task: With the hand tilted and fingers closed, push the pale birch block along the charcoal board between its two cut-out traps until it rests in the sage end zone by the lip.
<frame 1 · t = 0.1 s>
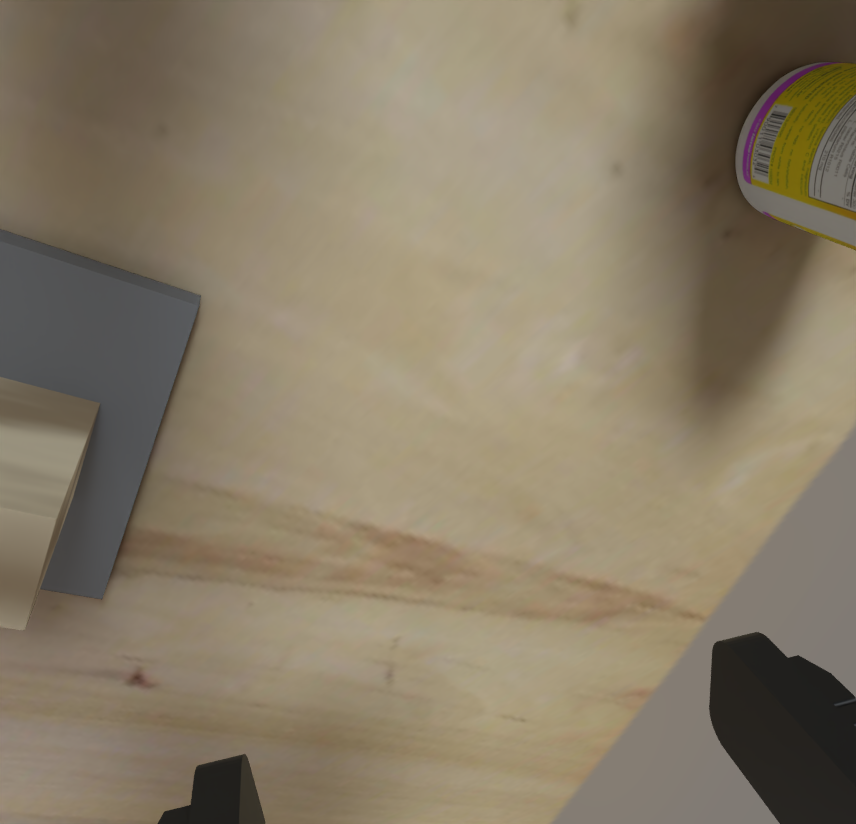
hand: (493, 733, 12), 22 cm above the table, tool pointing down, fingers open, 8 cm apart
supplement bottle: (793, 140, 33), on the table
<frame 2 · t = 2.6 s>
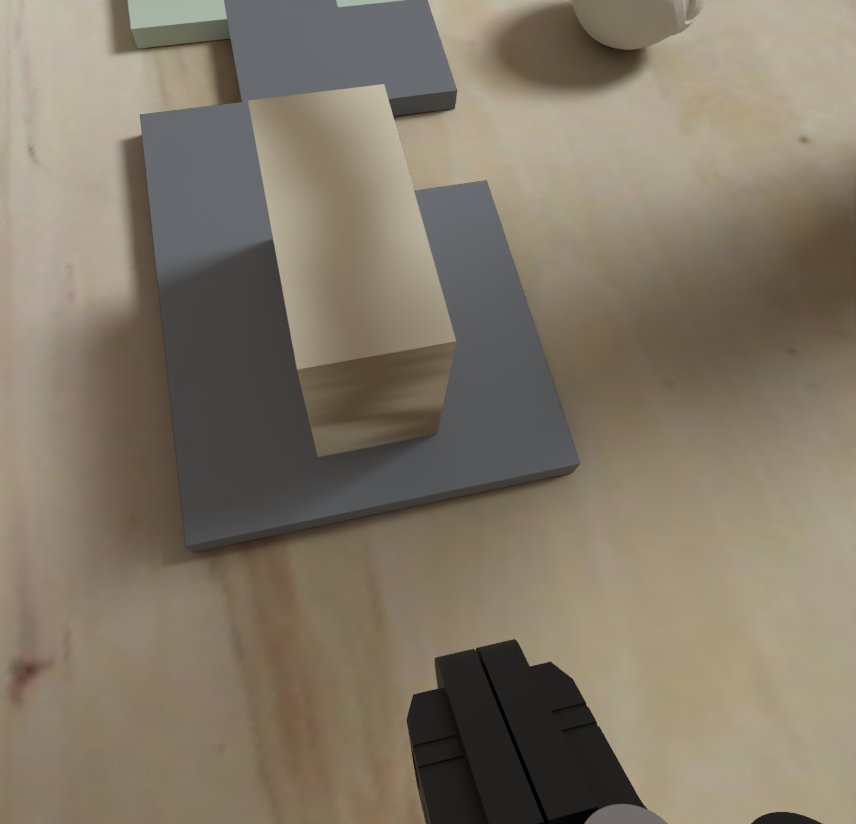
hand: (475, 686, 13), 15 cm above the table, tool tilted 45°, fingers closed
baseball: (620, 37, 42), on the table
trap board: (311, 149, 37), on the table
birch block: (352, 330, 31), point 1 cm above the table, touching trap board
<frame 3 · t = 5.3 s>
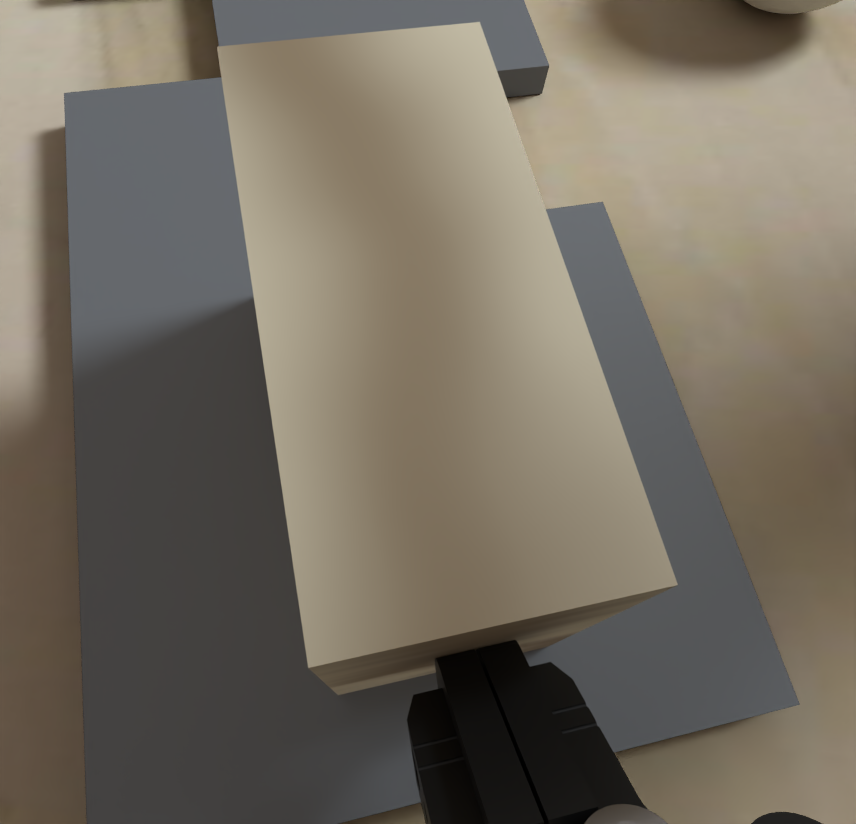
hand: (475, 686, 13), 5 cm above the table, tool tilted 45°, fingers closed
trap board: (328, 150, 24), on the table
birch block: (397, 452, 19), point 1 cm above the table, touching gripper, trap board
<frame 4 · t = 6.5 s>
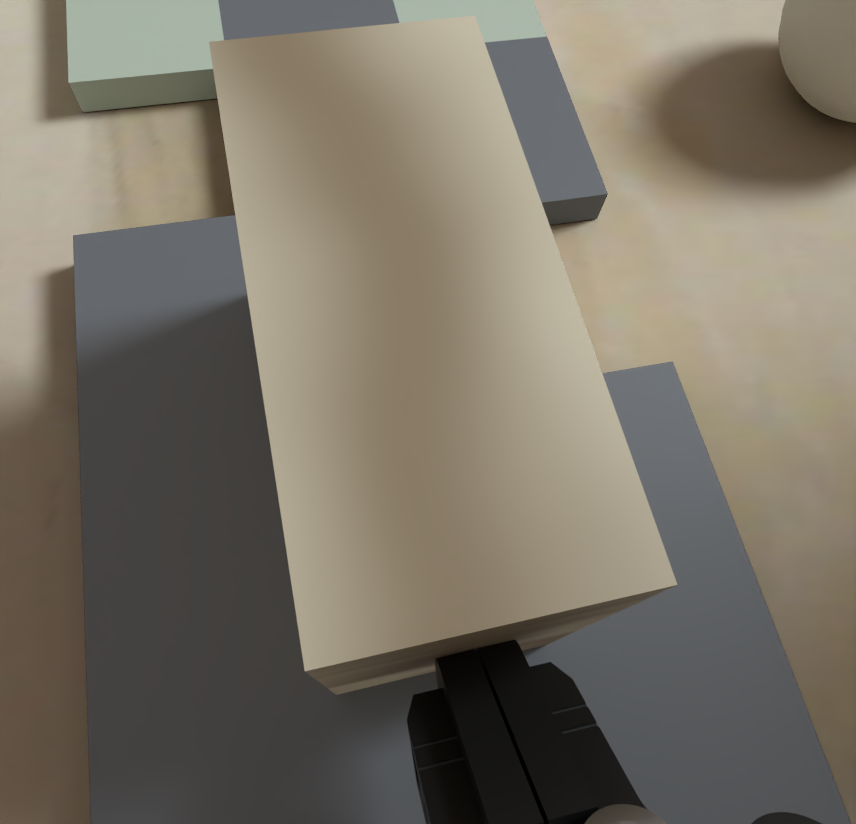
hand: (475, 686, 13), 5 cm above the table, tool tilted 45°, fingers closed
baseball: (839, 99, 27), on the table
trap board: (364, 291, 22), on the table
birch block: (395, 450, 19), point 1 cm above the table, touching gripper
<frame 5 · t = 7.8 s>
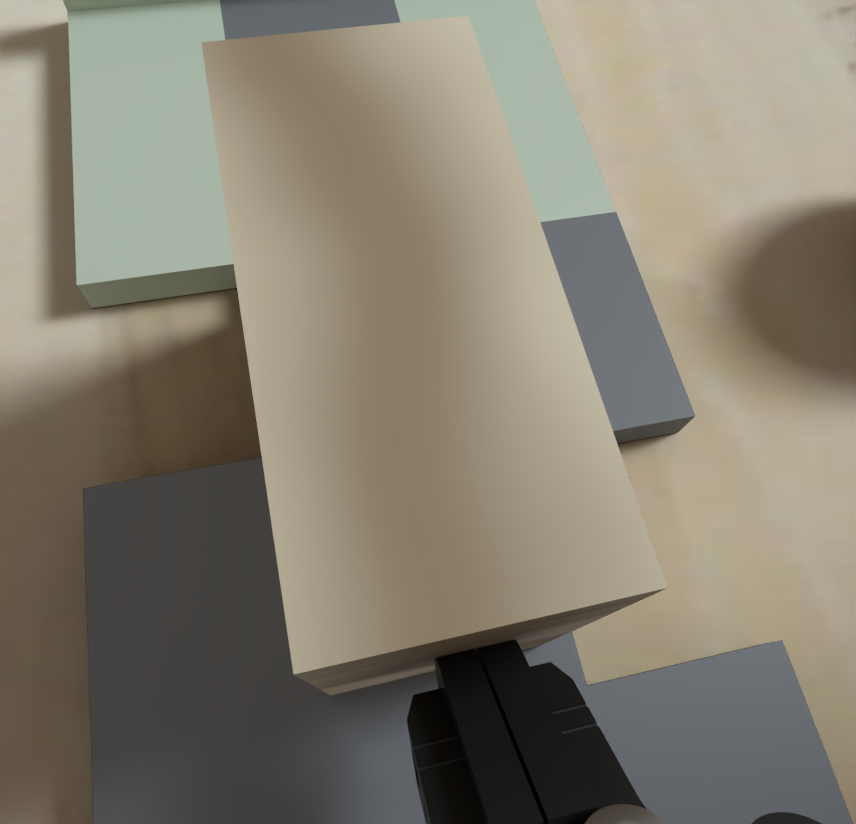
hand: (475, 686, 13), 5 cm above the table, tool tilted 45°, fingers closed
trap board: (418, 535, 19), on the table
birch block: (390, 450, 19), point 1 cm above the table
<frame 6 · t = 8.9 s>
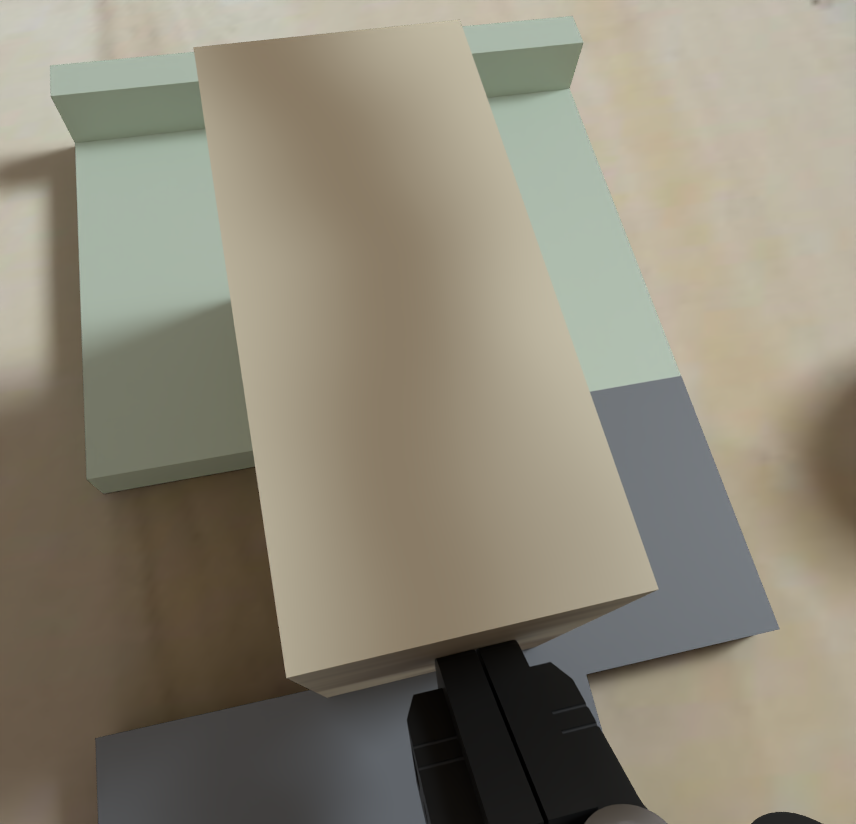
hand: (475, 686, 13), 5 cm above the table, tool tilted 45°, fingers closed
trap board: (471, 771, 17), on the table
birch block: (385, 452, 19), point 1 cm above the table, touching gripper
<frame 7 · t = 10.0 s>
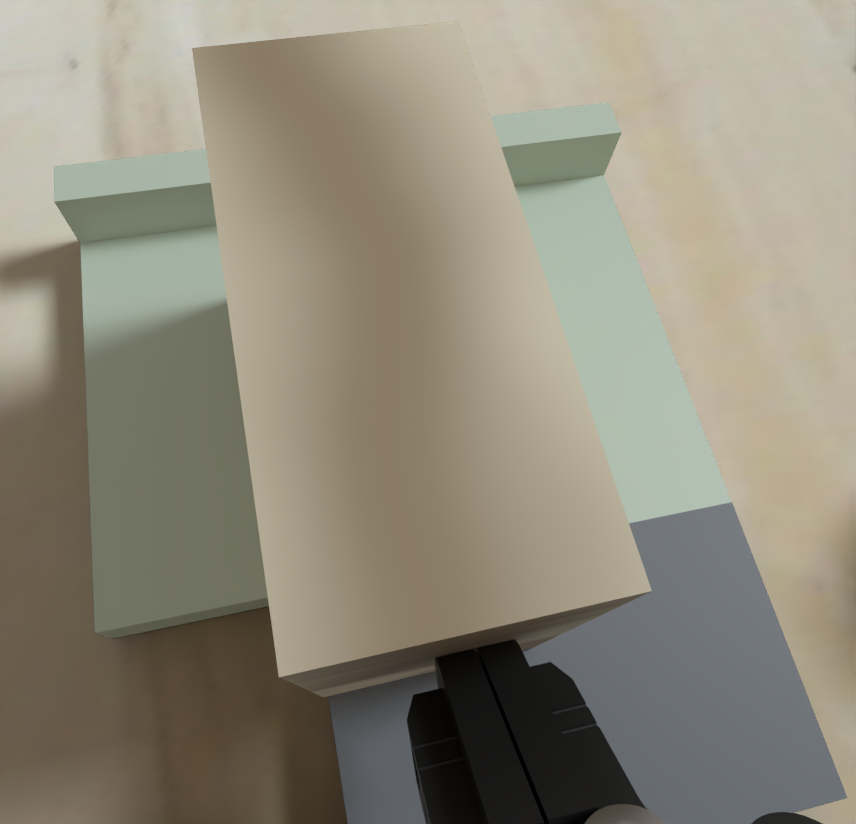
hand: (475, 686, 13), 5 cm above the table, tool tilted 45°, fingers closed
birch block: (383, 453, 19), point 1 cm above the table, touching gripper
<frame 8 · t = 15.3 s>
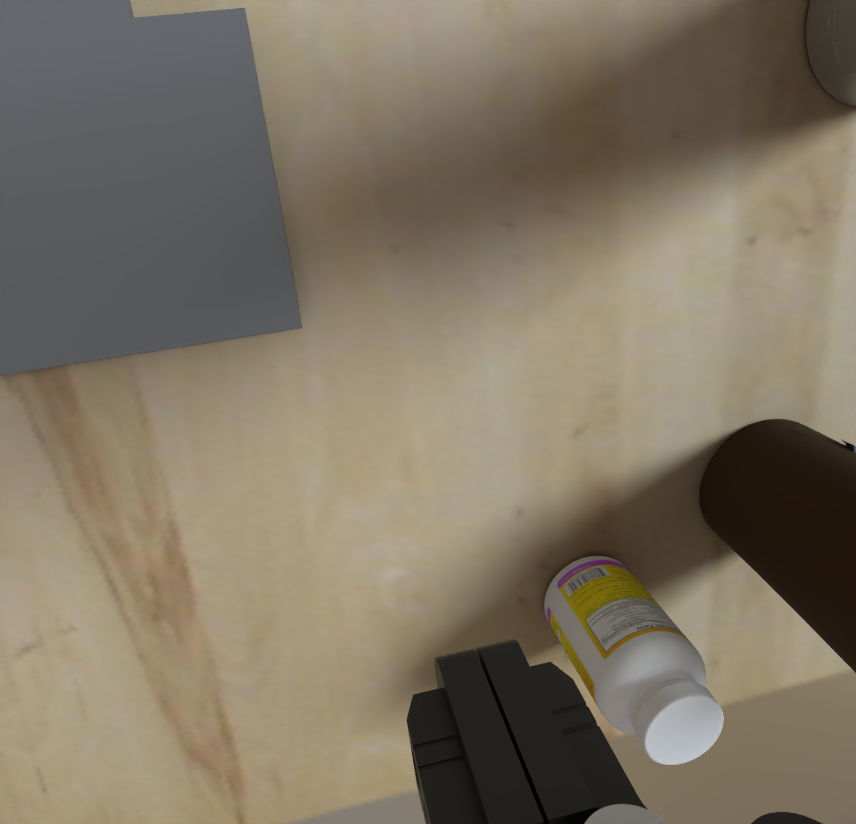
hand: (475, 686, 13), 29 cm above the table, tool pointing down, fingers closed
supplement bottle: (585, 590, 50), on the table
olive oil: (760, 479, 50), on the table
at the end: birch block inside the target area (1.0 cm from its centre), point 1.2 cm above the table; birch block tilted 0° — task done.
